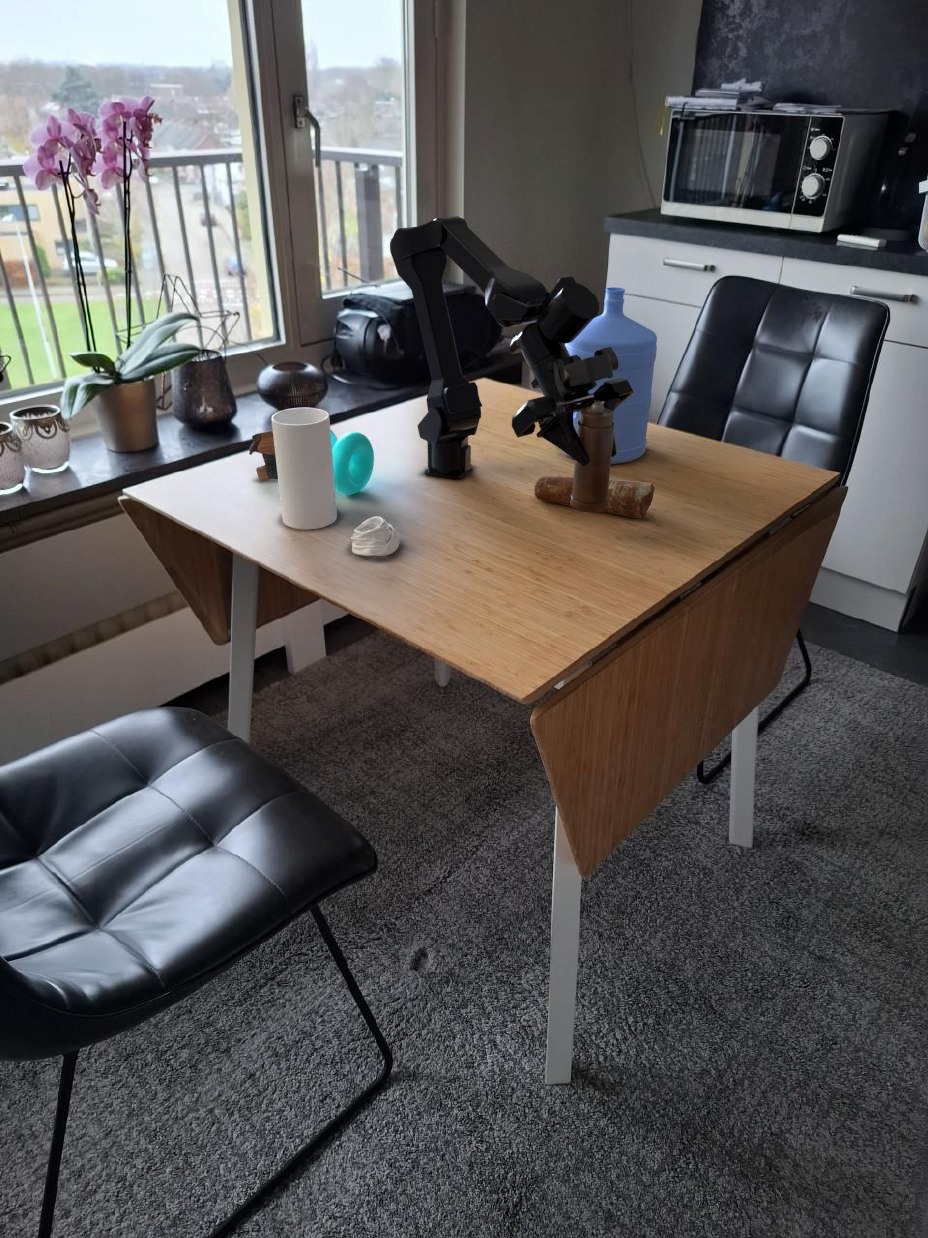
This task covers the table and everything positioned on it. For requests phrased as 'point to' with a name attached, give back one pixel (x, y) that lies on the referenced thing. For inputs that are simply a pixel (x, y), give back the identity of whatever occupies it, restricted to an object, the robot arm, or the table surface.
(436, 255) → the robot arm
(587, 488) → the pepper mill
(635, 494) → the brown cylinder
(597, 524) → the table surface
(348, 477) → the donuts
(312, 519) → the cup
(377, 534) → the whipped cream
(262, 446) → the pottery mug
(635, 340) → the water jug
